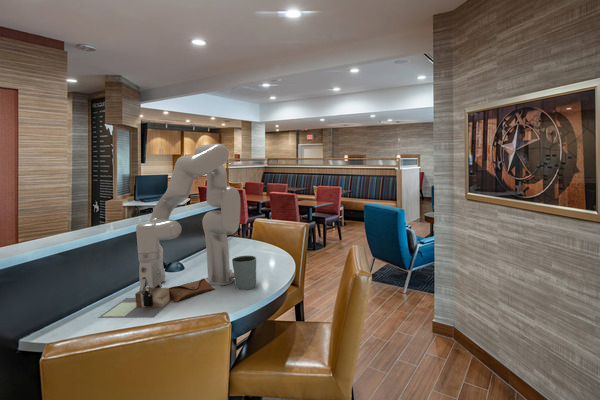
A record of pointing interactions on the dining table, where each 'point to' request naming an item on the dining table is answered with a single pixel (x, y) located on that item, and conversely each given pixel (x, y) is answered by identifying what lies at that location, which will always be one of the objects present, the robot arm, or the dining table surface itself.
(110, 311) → the mat
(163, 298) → the card box
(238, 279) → the grey cup
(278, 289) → the dining table surface
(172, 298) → the sunglasses case
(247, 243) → the dining table surface
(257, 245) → the dining table surface
